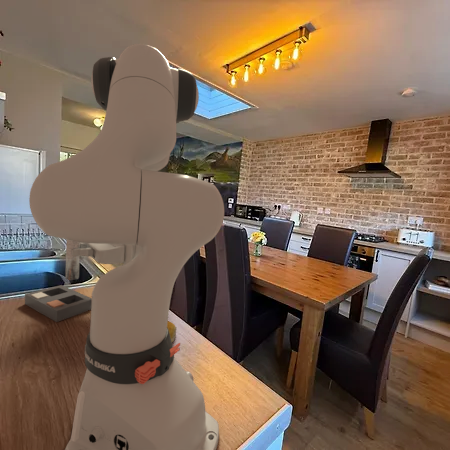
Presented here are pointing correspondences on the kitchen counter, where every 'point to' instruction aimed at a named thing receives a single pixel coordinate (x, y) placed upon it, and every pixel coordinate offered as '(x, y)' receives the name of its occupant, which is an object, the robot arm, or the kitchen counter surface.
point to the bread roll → (171, 330)
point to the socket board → (58, 302)
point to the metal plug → (72, 261)
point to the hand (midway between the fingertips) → (69, 250)
